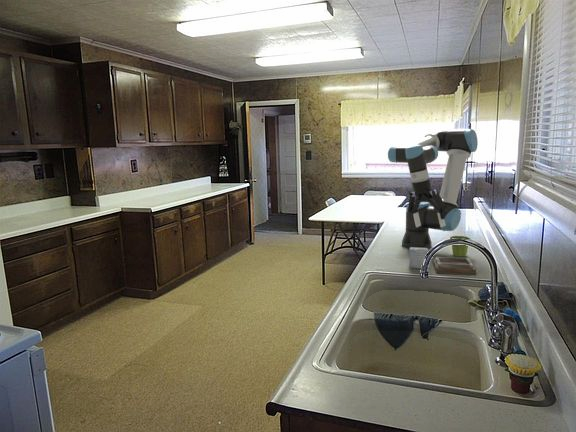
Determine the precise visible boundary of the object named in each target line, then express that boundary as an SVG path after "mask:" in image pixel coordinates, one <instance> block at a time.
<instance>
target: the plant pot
mask: <svg viewBox="0 0 576 432" xmlns="http://www.w3.org/2000/svg"><path fill="white" fill-rule="evenodd" d="M452 238H465V239H470V241H471V239H472V238H471V237H468V236H465V235H453V236H450V237H449V239H450V240H451V239H452ZM451 249H452V255H453V256H454V257H456V258H465V257H466V256H467V253H468V249H469V245H468V246H466V245H452V244H451Z"/></svg>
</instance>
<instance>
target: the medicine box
mask: <svg viewBox="0 0 576 432" xmlns="http://www.w3.org/2000/svg"><path fill="white" fill-rule="evenodd" d="M427 252H428V253H429V248H416V247H410V248H409V256H408V257H409V258H408V259H409V260H408V261H409V265H408V266H409V267H408V268H409V269H422V268H421V265H422V262H423V259H424V257H425V255H426V254H427Z"/></svg>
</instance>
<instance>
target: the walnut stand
mask: <svg viewBox="0 0 576 432" xmlns="http://www.w3.org/2000/svg"><path fill="white" fill-rule="evenodd" d="M432 266H433V267H434V270H435V272H436V274H455V275H457V274H459V275H476V274H477V269H476V268H475V266H474V264H473V262H472V261H471V259H470V257H455V256H454V257H450V256H445V257H444V256H435V257H434V258H432Z"/></svg>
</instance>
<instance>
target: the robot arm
mask: <svg viewBox="0 0 576 432" xmlns="http://www.w3.org/2000/svg"><path fill="white" fill-rule="evenodd" d="M478 144H479V142H478V136H477V132H476V131H475V129H472V128H454V129H451V128H450V129H448V128H445V129H440V130H436V131H434V132H431V133H428V134H425V135H424V136H423V138H419V139H417V140H415V141H411V142H409V143H407V144H404V145H401V146H397V145H396V146H391V147H389V149H388V152H387V159H388V161H390V163H396V164H397V163H400V164H401V163H402V164H403V163H406V164H407V166H408V170H409V175H410V180H411V182H412V183H411V186H412V189H413V191H411V192H409V201H408V204H407V205H406V212H405V232H404V235H403V237H402V240H401V246H402V247H404V248H406V249H410V247H416V248H428V249H431V248H432V246H433V245H432V239H431V236H430V233H429V229H430V230H431V229H432V230H435V231H436V230H437V231H443V232H453V231H455V230H456V229H457V228H458V227H459V225H460V222H461V218H462V216H461V214H462V212H461V210H460V209H459V205H458V204H457V202H458V201H457V200H458V196H459V192H460V189H461V183H462V180H463V175H464V171H465V167H466V163H467V160H468V159H469V158H471V156H472V153H475V152H477V150H478ZM439 152H446V155H448V159H447V162H446V167H445V171H444V176H443V180H442V184H441V188H440V191H438V189H436V188H435V189H433V190H431V187H432V184H431V181H430V179H429V178H430V175H429V172H428V168H427V164H431V163H433V162H435V161H436V160H437V158H439V157H438V156H439ZM439 192H440V193H439Z"/></svg>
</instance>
